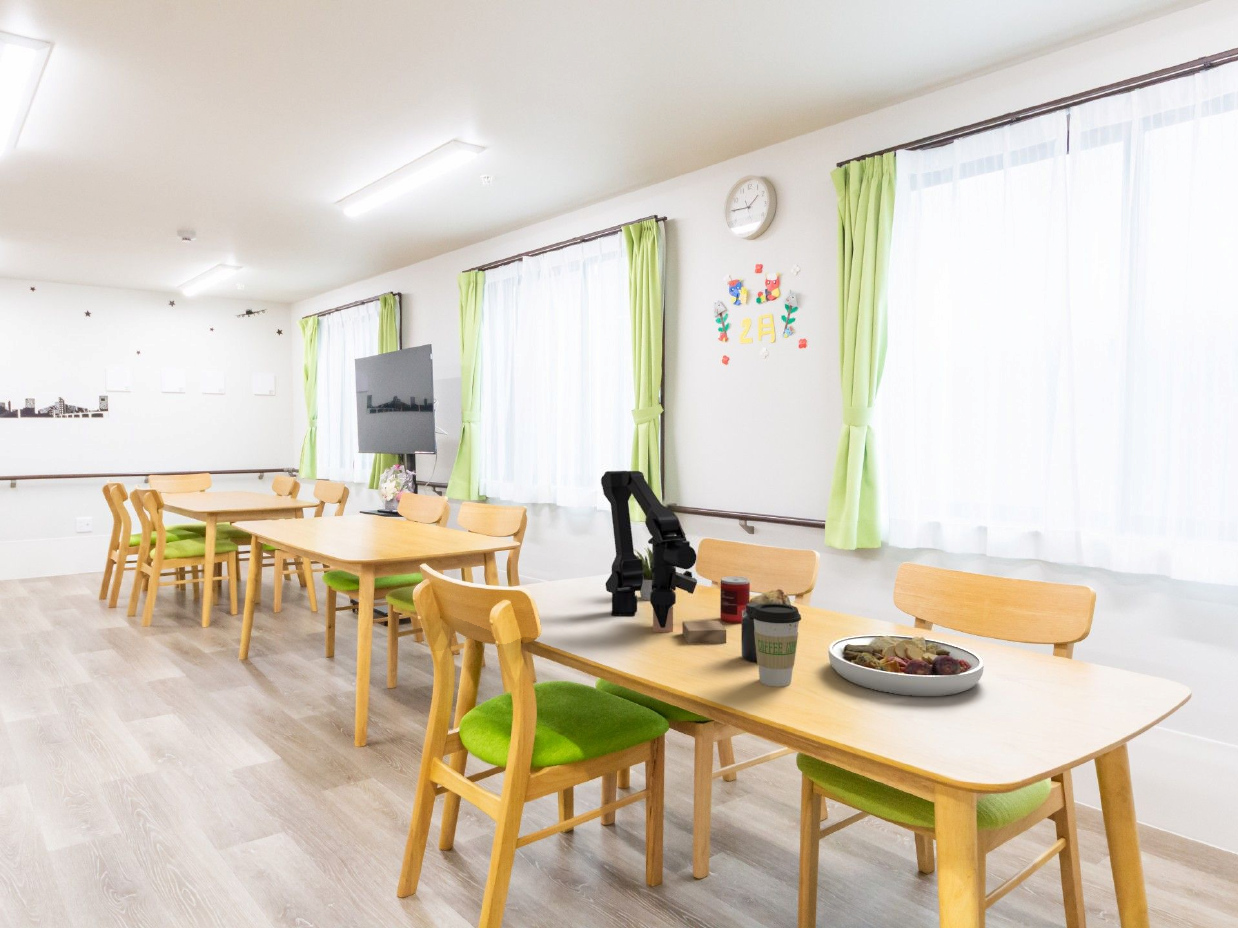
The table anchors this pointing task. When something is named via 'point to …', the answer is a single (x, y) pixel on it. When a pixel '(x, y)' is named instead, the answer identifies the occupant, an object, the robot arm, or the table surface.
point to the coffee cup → (776, 642)
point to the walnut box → (703, 632)
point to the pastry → (772, 598)
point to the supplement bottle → (748, 634)
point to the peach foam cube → (668, 623)
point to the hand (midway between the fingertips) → (663, 624)
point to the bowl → (906, 664)
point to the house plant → (646, 575)
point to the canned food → (734, 598)
